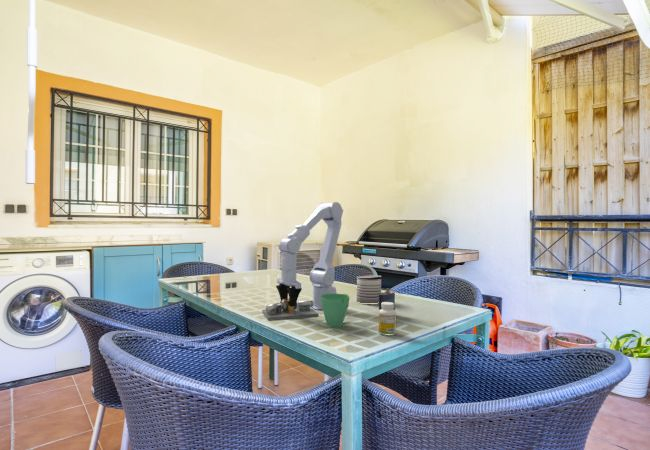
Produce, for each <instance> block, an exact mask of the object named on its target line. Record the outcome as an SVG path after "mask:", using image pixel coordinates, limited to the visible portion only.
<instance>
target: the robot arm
mask: <svg viewBox="0 0 650 450" xmlns="http://www.w3.org/2000/svg"><path fill="white" fill-rule="evenodd" d="M343 212H344V209H343V207H342V204H341V203H339V202H337V201H334V202H320V203H319V204H318V205H317V206H316V207H315V210H314V211H313V213H311V215H309V218H307V220H306V221H305V222H304V223H303V224H298V225H296V226H295V227H294V228H295V229H294V230H293V231H292V232H291V233H289V234H287V237H285V238H283V239H282V240H281V241H280V243H279V245H278V249H279V251H280V256H281V277H279V278H276V279H277V281H276V283H277V285H275V288H276V289H277V292H278V294H279V295H278V296H279V298H280V301H283V299H286V298H289V303H290V306H291V307H292V306H296V302H298V298H299V295H300V293H301V291H302V289H303V288H302V283H301V282H299V281H298V280H297V263H298V262H297V253H298V252H299V251H300V249H301V246H302V243H304V242H305V240H306V239H307V238H308V237H309V236H310V234H311V233H310V232H311V230H312V229H313V228H314V227H315V226H316V225H317V224H318V223H319V222H320V221H321V220H322V221H323V222H324V223H325V224H326V226H327V227H326V228H327V229H326V233H325V237H324V241H323V244H322V249H321V252H320V256H319V258H318V260H319V261H318V262H316V263H315V264H314V265H313V268H312V270H311V271H310V274H309V281H310V282H311V283H312V286H313V287H312V301H313V307H312V309H313V310H314V311H317V310H318V311H319V310H323V308H322V303H321V295H324V294H338V293H337V289H336V286H335V285H333V284H334V282H335V279H336V278H335V272H336V269H335V268H334V266H333V264H332V263H333V260H334V258H335V257H334V256H335V253H336V252H335V251H336V248H337V244H338V240H339V237H340V232H341V229H342V228H341V227H342V217H343Z"/></svg>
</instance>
